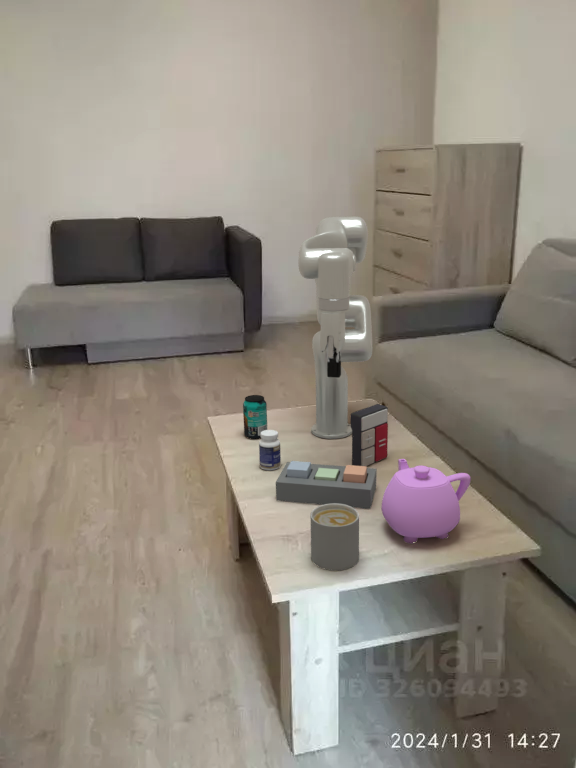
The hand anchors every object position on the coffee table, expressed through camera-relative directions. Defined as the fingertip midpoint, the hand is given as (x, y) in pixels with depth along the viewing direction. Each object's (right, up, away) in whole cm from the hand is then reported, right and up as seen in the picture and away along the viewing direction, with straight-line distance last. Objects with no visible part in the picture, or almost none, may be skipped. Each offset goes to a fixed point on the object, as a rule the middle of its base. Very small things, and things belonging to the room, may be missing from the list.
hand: (334, 376), depth 178 cm
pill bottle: (-16, -25, +14) cm, 33 cm away
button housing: (-2, -29, -2) cm, 29 cm away
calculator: (+11, -23, +16) cm, 30 cm away
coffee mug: (-2, -38, -28) cm, 47 cm away
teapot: (+19, -34, -17) cm, 43 cm away
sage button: (-2, -29, -2) cm, 29 cm away
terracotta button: (+5, -28, -4) cm, 28 cm away
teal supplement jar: (-21, -18, +36) cm, 45 cm away
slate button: (-9, -27, -1) cm, 28 cm away
